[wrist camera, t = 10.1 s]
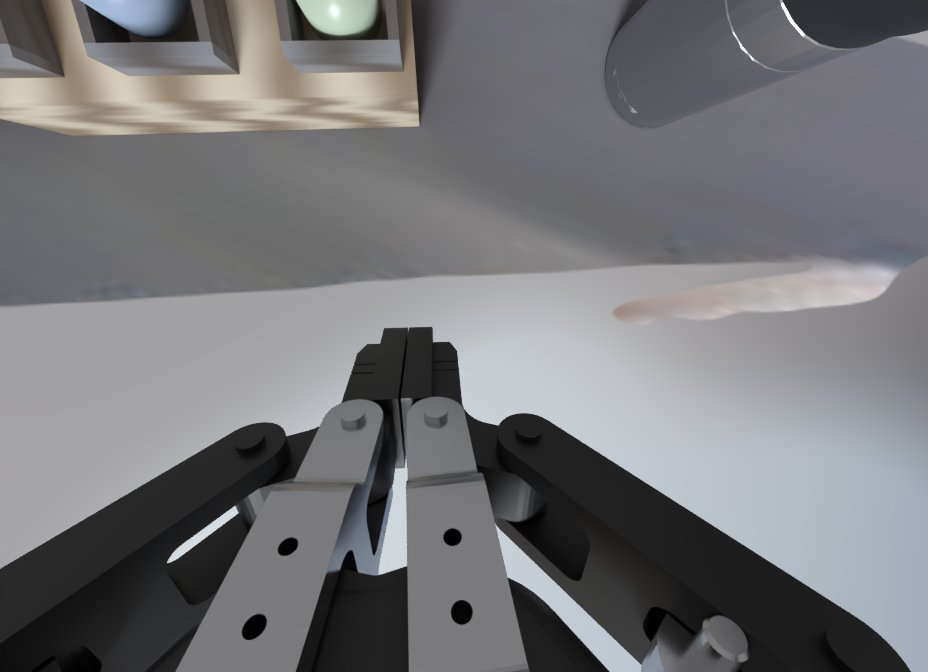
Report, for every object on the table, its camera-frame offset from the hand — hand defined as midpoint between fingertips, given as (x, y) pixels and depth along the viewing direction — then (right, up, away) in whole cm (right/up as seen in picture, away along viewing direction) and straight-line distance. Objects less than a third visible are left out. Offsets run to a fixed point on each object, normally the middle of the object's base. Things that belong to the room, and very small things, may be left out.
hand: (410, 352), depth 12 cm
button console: (-16, +22, +19) cm, 33 cm away
